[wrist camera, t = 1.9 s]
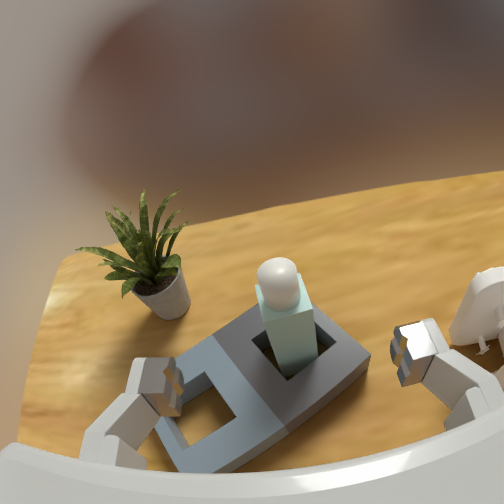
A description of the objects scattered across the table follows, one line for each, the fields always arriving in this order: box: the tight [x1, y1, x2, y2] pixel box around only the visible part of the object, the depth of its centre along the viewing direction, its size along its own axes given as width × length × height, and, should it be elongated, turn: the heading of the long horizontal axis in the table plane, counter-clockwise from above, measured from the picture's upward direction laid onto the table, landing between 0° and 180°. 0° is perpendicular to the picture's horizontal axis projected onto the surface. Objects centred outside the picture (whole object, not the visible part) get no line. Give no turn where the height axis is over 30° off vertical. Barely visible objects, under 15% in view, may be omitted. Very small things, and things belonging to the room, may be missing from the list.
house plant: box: [76, 189, 191, 320], centre depth 37 cm, size 14×14×16 cm
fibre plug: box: [255, 258, 318, 377], centre depth 28 cm, size 4×4×14 cm
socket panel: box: [154, 302, 371, 474], centre depth 30 cm, size 21×13×4 cm, turn 124°
